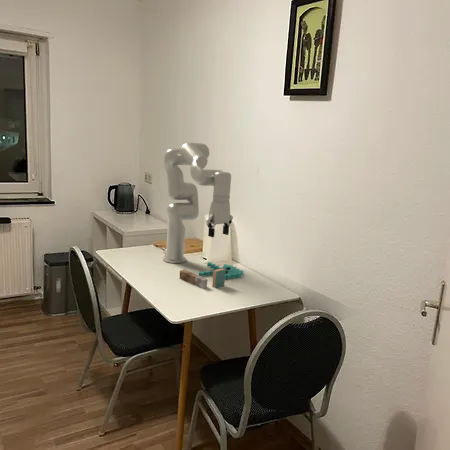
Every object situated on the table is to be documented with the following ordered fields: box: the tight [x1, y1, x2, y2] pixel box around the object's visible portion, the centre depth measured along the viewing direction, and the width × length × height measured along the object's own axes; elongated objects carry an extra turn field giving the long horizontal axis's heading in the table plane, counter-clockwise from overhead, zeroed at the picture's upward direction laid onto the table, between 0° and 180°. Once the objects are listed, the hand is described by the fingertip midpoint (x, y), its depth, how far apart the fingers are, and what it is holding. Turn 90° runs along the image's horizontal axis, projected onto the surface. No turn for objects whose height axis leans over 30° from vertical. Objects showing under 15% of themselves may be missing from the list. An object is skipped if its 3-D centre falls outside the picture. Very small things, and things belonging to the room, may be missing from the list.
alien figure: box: [198, 261, 244, 280], centre depth 233 cm, size 20×2×20 cm
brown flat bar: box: [179, 269, 208, 289], centre depth 214 cm, size 16×3×4 cm, turn 46°
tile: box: [211, 267, 226, 289], centre depth 212 cm, size 2×6×8 cm, turn 136°
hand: (218, 235), depth 211 cm, fingers open, 9 cm apart
